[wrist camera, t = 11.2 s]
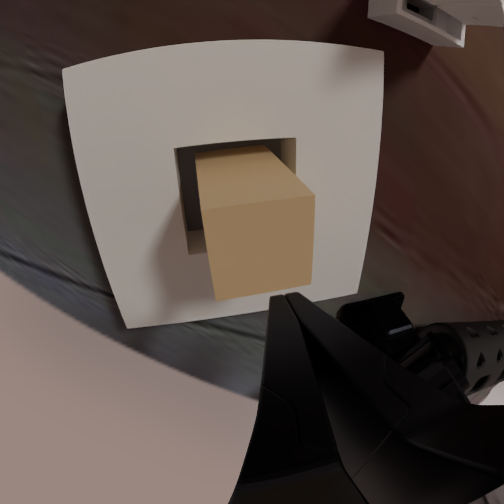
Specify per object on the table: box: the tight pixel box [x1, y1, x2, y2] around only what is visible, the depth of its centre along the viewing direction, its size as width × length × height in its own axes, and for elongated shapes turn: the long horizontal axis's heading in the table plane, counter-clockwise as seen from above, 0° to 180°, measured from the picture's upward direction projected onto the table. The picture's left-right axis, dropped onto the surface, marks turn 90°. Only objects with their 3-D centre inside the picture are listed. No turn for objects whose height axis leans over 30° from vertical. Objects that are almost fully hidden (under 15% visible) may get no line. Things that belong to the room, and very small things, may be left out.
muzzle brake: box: [415, 320, 504, 396], centre depth 31 cm, size 10×28×10 cm, turn 74°
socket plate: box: [62, 40, 384, 329], centre depth 17 cm, size 16×16×3 cm
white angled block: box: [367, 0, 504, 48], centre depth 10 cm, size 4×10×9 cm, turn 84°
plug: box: [195, 145, 315, 301], centre depth 15 cm, size 4×4×8 cm
